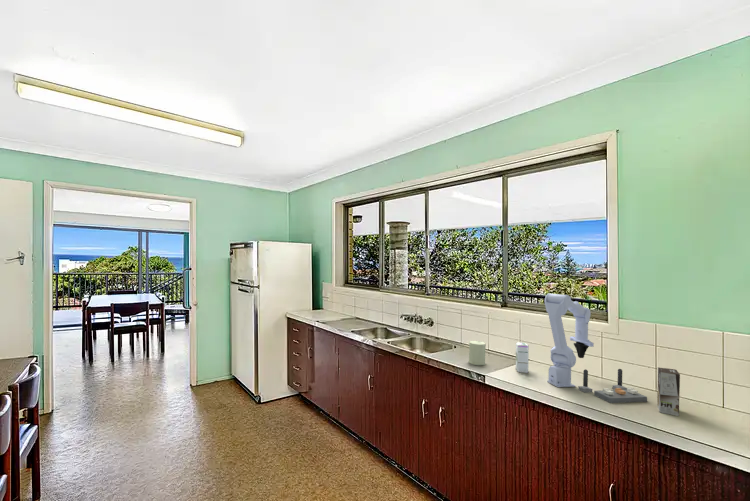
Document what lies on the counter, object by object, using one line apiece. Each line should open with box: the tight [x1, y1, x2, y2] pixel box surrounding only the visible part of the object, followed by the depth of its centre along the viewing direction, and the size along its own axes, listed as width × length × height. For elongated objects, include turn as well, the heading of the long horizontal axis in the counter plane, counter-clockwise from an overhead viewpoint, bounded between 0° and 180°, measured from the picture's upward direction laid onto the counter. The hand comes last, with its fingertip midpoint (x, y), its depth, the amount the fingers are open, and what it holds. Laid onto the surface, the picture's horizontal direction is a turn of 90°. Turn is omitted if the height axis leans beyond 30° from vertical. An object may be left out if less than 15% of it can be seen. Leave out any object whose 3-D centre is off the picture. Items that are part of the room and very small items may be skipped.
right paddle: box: [626, 387, 639, 394], centre depth 165 cm, size 2×3×2 cm
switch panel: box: [593, 389, 648, 404], centre depth 164 cm, size 18×9×2 cm, turn 100°
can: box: [468, 340, 487, 366], centre depth 214 cm, size 9×9×12 cm
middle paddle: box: [614, 388, 626, 394], centre depth 164 cm, size 2×3×2 cm
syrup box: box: [515, 342, 530, 373], centre depth 201 cm, size 6×6×14 cm
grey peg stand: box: [577, 369, 593, 393], centre depth 173 cm, size 4×4×10 cm
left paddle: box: [602, 387, 614, 395], centre depth 163 cm, size 2×3×2 cm
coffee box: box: [656, 367, 681, 417], centre depth 152 cm, size 9×6×16 cm
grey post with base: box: [612, 368, 628, 390], centre depth 176 cm, size 4×4×10 cm
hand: (580, 357), depth 191 cm, fingers closed
